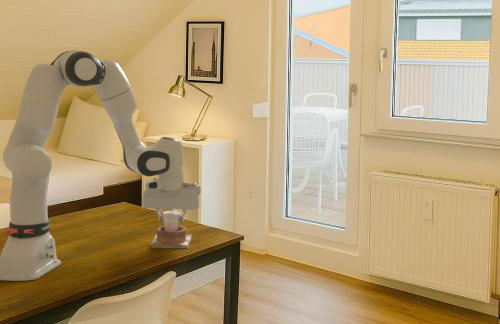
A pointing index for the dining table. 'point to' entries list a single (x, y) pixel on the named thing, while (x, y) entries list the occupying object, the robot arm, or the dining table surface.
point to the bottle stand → (171, 238)
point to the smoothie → (171, 220)
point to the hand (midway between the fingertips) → (171, 220)
